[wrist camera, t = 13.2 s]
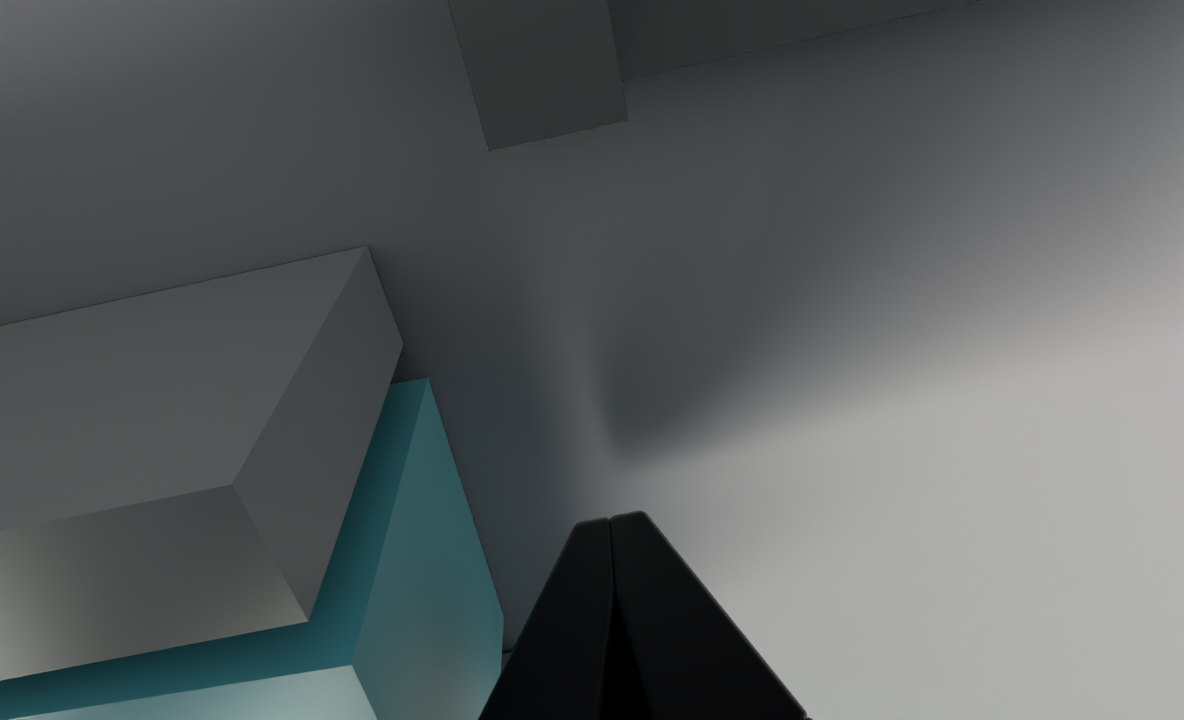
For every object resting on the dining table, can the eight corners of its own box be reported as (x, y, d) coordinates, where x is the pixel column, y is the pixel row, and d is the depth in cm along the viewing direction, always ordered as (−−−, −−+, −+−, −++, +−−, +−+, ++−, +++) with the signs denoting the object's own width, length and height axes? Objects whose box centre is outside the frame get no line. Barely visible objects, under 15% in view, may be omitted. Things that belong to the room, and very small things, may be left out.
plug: (428, 377, 9) (352, 664, 5) (504, 616, 11) (484, 942, 7) (-193, 483, 9) (-647, 824, 6) (-10, 699, 11) (-266, 1050, 8)
